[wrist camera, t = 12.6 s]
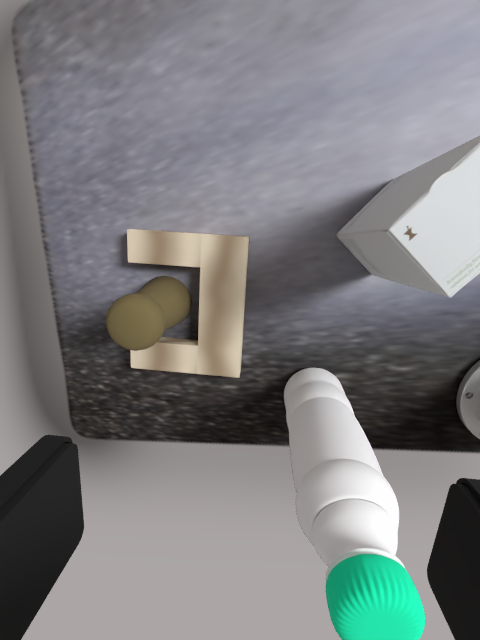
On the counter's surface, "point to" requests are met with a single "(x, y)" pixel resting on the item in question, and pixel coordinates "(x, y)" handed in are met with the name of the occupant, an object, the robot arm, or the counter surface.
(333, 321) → the counter surface
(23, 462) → the robot arm
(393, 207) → the skincare box
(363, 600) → the water bottle
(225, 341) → the wooden u-shaped block
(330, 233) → the counter surface
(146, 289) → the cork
